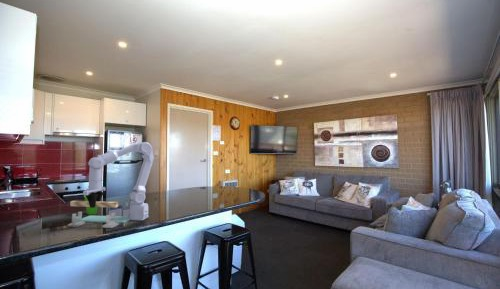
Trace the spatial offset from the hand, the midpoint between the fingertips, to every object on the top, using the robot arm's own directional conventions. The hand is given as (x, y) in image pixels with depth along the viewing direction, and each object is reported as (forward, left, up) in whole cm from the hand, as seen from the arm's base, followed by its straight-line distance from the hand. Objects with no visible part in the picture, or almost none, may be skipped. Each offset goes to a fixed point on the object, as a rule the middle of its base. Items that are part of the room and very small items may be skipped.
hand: (94, 206), depth 128 cm
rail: (0, 0, 0) cm, 0 cm away
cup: (+17, -23, -10) cm, 30 cm away
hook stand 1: (+9, 0, -10) cm, 13 cm away
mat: (0, -10, -10) cm, 14 cm away
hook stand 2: (-9, 0, -10) cm, 13 cm away
